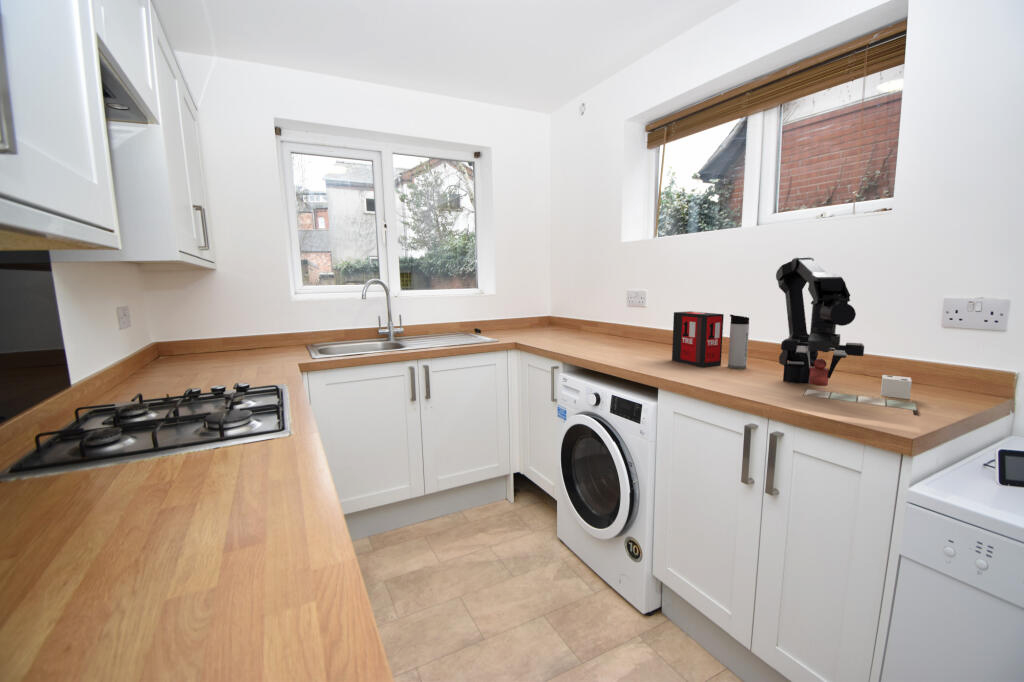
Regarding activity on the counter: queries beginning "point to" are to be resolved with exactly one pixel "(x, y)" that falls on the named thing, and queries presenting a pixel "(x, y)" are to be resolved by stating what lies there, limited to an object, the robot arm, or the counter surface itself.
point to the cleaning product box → (697, 338)
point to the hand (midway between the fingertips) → (818, 377)
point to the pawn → (819, 373)
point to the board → (863, 400)
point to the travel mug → (738, 342)
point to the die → (896, 386)
